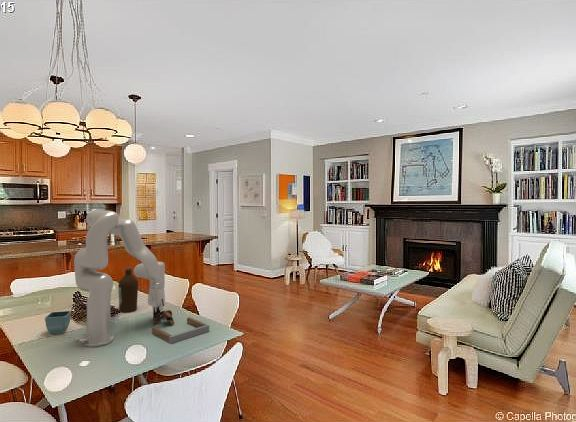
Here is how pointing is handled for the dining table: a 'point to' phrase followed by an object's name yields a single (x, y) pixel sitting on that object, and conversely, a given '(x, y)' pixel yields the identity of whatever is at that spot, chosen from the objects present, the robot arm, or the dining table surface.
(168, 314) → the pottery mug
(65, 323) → the flower pot
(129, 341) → the dining table surface
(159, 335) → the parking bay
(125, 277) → the olive oil
